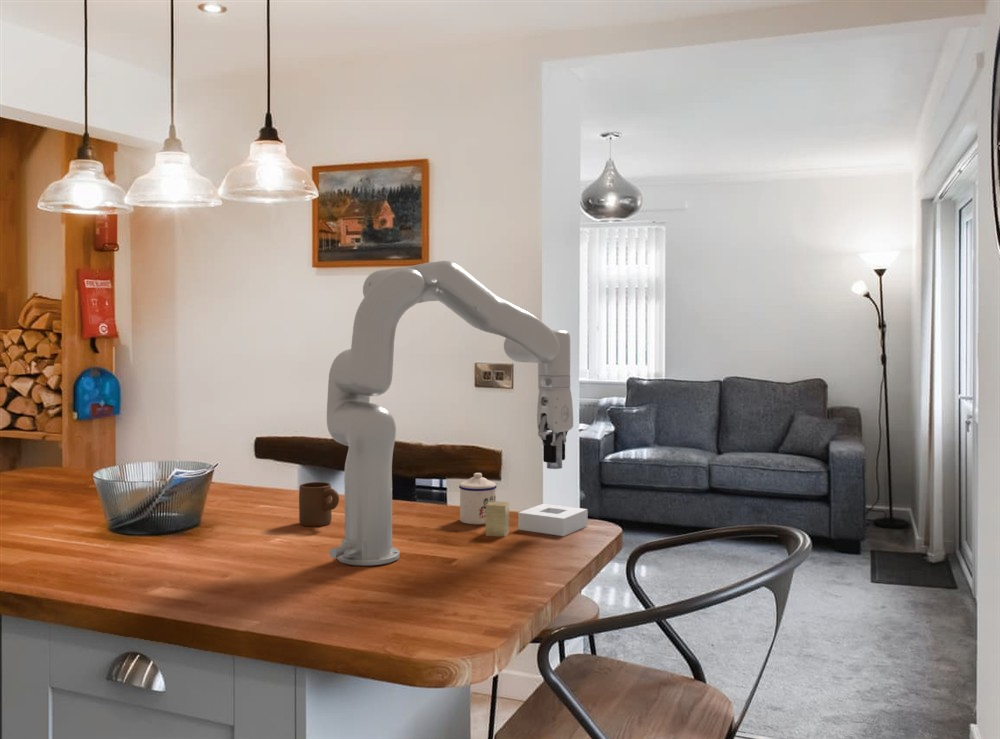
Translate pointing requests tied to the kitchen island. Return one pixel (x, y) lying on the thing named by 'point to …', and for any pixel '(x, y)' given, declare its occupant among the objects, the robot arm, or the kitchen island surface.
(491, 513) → the square bit
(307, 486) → the mug
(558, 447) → the round bit
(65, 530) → the kitchen island surface
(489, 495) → the teacup with lid
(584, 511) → the block
